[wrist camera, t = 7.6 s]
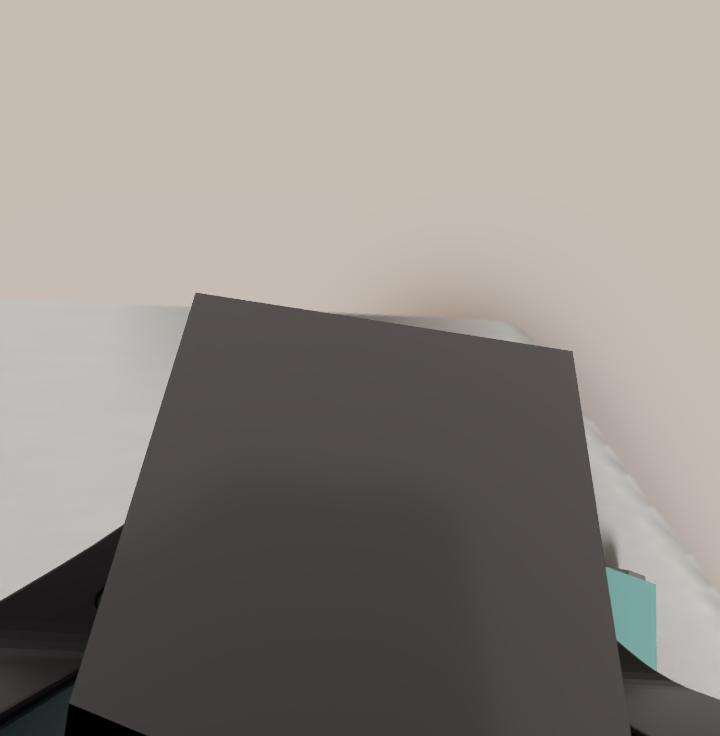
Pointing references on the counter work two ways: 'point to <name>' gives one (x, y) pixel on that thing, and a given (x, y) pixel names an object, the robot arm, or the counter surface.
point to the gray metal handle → (356, 542)
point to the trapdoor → (634, 614)
